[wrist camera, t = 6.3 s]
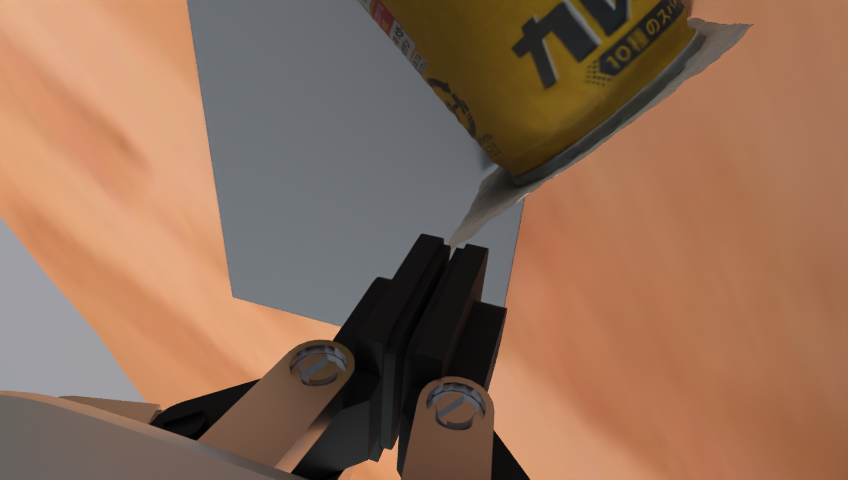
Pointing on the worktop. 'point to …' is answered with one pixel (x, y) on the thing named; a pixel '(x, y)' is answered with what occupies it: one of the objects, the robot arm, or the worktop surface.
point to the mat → (331, 155)
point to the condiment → (546, 76)
